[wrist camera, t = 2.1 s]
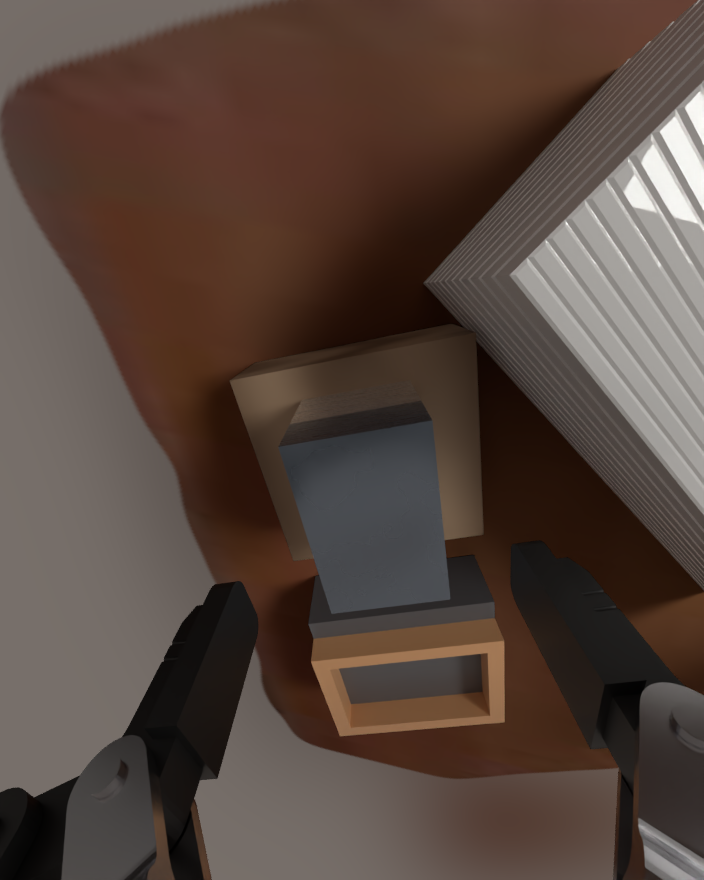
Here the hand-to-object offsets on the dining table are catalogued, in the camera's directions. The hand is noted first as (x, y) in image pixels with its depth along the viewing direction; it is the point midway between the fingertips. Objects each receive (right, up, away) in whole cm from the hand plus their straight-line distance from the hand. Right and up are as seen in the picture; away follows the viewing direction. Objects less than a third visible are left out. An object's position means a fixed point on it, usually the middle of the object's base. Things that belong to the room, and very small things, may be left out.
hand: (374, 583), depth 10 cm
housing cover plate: (0, +2, +4) cm, 4 cm away
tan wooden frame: (+4, -11, +17) cm, 21 cm away
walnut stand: (0, +5, +10) cm, 11 cm away
